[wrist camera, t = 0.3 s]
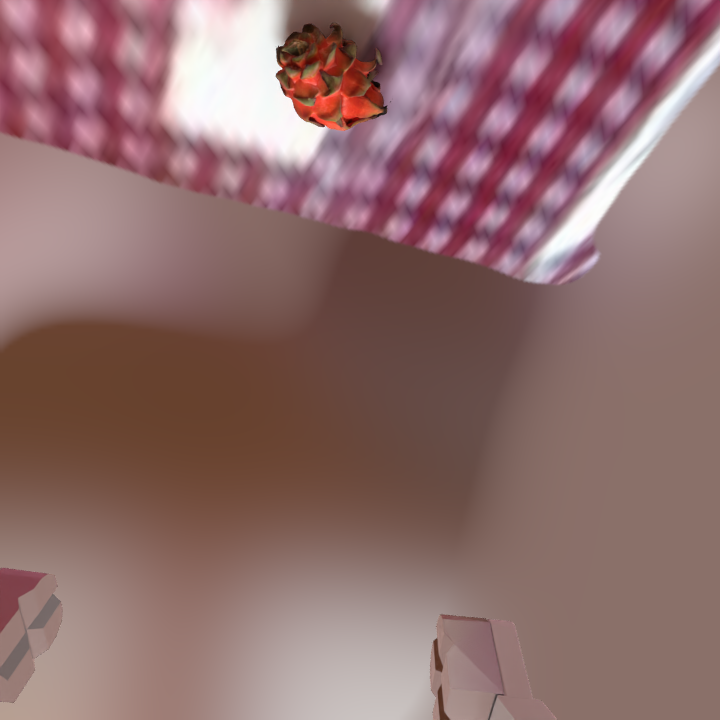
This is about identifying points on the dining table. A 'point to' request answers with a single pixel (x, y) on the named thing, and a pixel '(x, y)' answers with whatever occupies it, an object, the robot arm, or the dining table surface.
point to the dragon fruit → (329, 79)
